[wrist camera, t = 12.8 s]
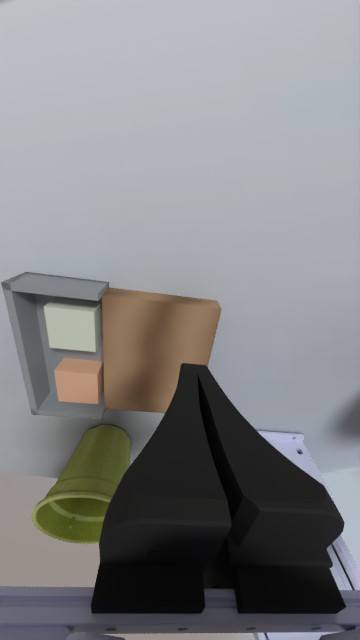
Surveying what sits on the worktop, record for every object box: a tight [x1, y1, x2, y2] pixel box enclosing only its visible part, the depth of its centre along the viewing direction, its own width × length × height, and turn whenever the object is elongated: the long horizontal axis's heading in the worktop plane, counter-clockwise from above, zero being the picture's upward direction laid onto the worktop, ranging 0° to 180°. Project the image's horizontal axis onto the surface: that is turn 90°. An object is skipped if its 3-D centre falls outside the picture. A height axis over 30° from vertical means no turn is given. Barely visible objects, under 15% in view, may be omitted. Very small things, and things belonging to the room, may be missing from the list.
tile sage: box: [44, 298, 102, 352], centre depth 20 cm, size 4×4×2 cm
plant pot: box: [32, 425, 131, 544], centre depth 25 cm, size 9×9×9 cm
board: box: [102, 288, 221, 413], centre depth 22 cm, size 10×13×2 cm
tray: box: [1, 272, 109, 419], centre depth 21 cm, size 7×14×3 cm, turn 172°
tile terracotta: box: [54, 358, 104, 404], centre depth 22 cm, size 4×4×2 cm
